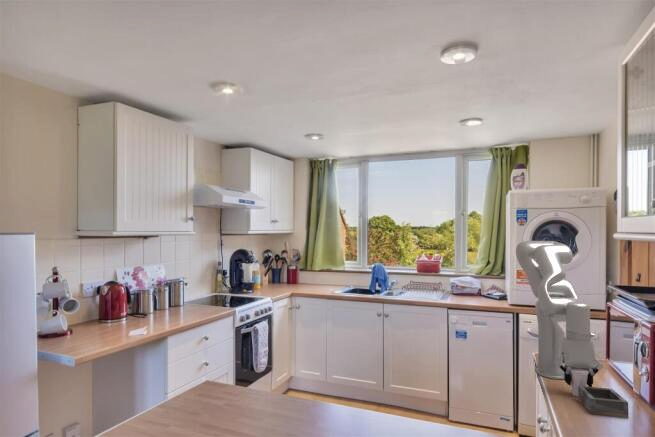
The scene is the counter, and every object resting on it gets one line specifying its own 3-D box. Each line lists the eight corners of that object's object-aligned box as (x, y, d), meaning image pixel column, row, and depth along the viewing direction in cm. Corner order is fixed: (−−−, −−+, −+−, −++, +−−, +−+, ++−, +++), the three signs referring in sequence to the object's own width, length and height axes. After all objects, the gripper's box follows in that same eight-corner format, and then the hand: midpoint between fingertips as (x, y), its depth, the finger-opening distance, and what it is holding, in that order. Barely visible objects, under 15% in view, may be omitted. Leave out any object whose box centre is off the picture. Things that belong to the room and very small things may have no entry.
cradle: (578, 399, 136) (578, 385, 136) (612, 403, 133) (612, 388, 133) (591, 414, 125) (591, 398, 125) (628, 418, 123) (628, 402, 123)
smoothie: (592, 399, 136) (592, 360, 136) (572, 398, 137) (572, 359, 137) (584, 392, 142) (583, 354, 142) (565, 390, 143) (565, 353, 143)
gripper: (600, 334, 141) (600, 383, 141) (548, 331, 145) (549, 378, 145) (609, 340, 134) (610, 391, 134) (555, 337, 138) (556, 386, 138)
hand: (578, 384), depth 139 cm, fingers closed on smoothie, 6 cm apart
